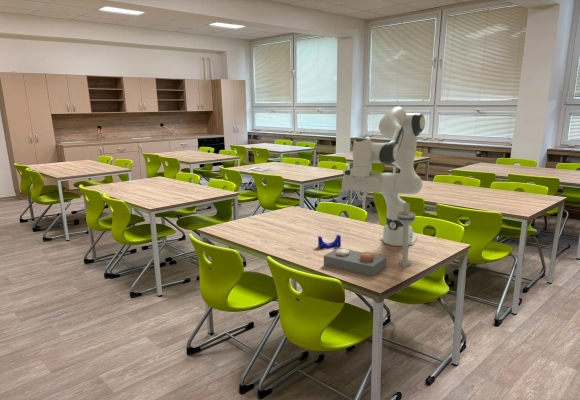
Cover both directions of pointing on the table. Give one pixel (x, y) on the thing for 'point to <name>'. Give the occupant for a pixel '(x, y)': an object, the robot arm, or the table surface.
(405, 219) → the model tower
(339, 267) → the console
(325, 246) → the cable clip
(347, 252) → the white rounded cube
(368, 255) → the terracotta plunger
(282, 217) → the table surface
